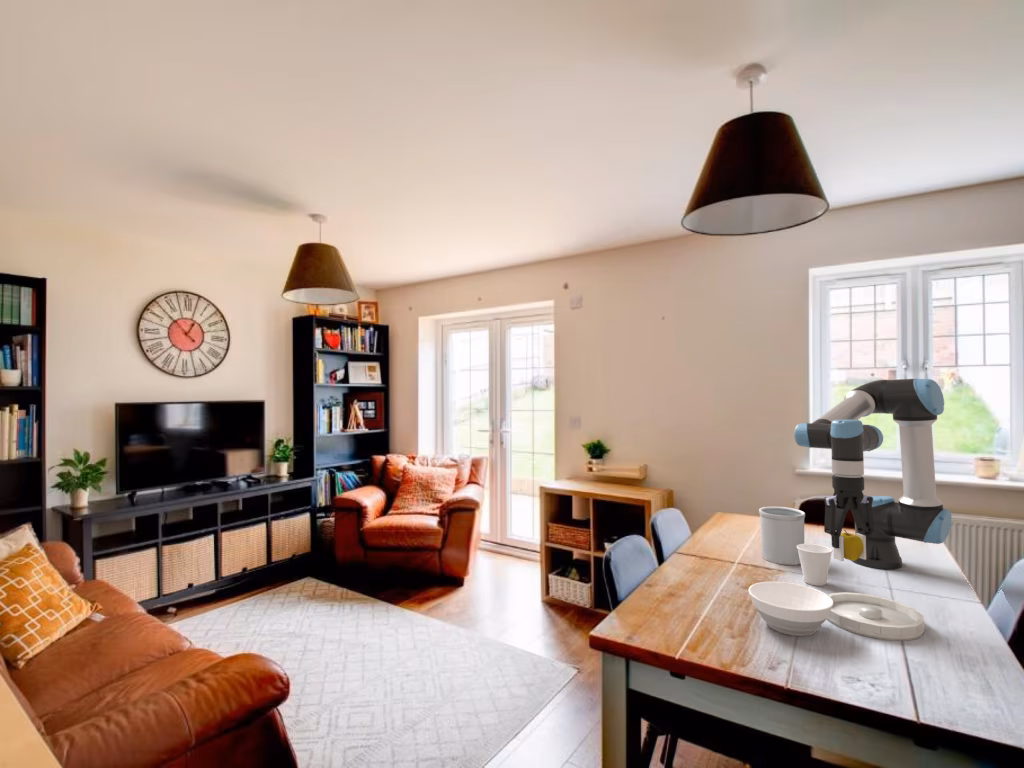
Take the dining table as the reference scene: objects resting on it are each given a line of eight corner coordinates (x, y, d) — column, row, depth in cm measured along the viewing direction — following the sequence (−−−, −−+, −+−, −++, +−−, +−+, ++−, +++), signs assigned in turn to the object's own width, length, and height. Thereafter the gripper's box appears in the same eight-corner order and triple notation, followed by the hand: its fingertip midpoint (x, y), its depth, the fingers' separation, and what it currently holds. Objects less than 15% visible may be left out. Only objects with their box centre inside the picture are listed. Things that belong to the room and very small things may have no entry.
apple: (836, 554, 148) (836, 526, 148) (863, 558, 144) (863, 530, 145) (835, 560, 143) (834, 531, 143) (863, 565, 139) (862, 535, 139)
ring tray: (871, 601, 150) (871, 589, 150) (947, 636, 128) (947, 623, 128) (803, 607, 146) (802, 595, 146) (869, 644, 124) (869, 631, 125)
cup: (838, 589, 159) (837, 553, 159) (803, 587, 161) (802, 552, 161) (826, 578, 169) (825, 544, 169) (792, 576, 171) (792, 542, 171)
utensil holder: (810, 567, 179) (809, 516, 180) (763, 563, 184) (761, 514, 184) (801, 554, 193) (800, 507, 193) (757, 551, 198) (756, 505, 198)
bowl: (834, 652, 121) (833, 616, 121) (743, 633, 131) (743, 600, 131) (834, 621, 137) (833, 589, 138) (754, 606, 148) (753, 576, 148)
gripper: (866, 472, 149) (868, 552, 149) (807, 474, 146) (809, 556, 146) (889, 476, 142) (892, 560, 142) (827, 478, 139) (829, 565, 138)
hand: (849, 558), depth 144 cm, fingers closed on apple, 6 cm apart
